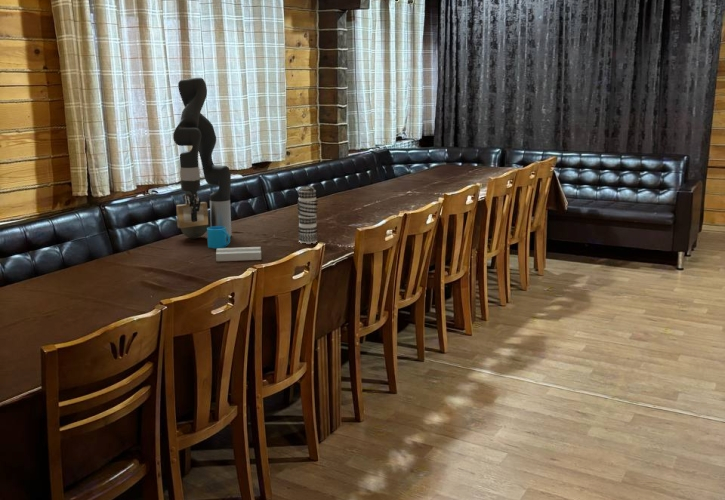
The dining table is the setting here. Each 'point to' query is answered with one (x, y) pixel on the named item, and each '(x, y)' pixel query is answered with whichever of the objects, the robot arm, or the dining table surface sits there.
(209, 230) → the mug
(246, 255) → the notched stand
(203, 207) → the picture frame
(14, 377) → the dining table surface
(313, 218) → the decorative candle
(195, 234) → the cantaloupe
